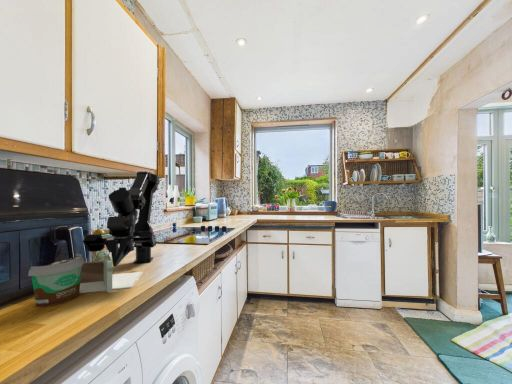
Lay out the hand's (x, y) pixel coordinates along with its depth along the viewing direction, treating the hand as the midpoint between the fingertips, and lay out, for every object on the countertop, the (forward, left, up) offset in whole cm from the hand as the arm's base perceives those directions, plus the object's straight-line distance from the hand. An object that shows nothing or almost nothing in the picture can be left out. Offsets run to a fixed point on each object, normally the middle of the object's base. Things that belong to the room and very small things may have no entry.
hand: (114, 265), depth 66 cm
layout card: (-7, -4, -7) cm, 11 cm away
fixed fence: (-8, -9, -7) cm, 14 cm away
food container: (+4, -10, -7) cm, 13 cm away
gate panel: (-2, -3, -6) cm, 7 cm away
